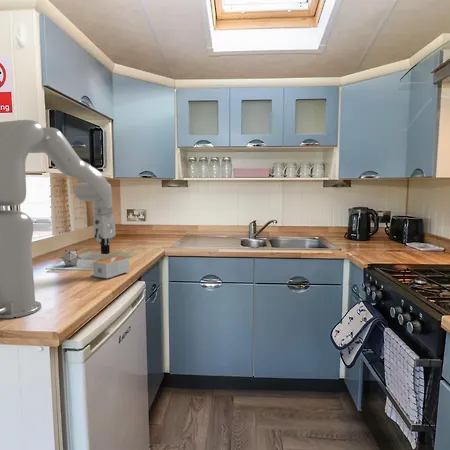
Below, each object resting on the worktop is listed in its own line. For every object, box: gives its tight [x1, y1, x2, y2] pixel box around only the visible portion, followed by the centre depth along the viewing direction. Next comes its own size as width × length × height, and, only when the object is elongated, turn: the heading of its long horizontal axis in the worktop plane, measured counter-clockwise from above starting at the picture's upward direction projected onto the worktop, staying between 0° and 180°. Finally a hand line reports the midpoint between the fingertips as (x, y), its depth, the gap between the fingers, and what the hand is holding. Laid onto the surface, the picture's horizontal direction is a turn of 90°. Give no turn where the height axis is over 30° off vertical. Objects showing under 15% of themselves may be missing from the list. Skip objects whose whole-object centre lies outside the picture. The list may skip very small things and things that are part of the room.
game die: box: [60, 249, 82, 267], centre depth 164 cm, size 9×8×10 cm
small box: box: [92, 256, 130, 279], centre depth 146 cm, size 8×6×13 cm
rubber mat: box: [89, 273, 118, 279], centre depth 147 cm, size 11×10×1 cm
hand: (105, 253), depth 145 cm, fingers closed
